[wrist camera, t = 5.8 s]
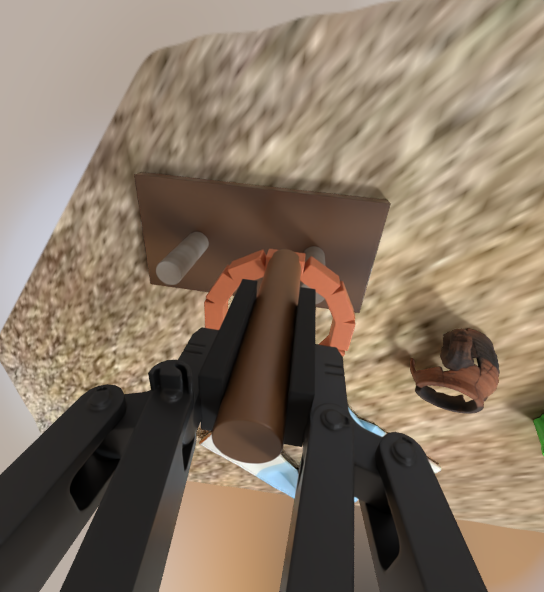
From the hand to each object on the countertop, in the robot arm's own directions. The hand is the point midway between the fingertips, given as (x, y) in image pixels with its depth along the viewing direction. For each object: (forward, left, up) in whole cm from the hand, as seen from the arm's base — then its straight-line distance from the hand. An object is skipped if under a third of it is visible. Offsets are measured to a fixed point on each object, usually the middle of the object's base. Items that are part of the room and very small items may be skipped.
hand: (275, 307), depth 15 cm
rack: (+5, -4, -19) cm, 20 cm away
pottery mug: (+16, +21, -20) cm, 33 cm away
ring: (+5, 0, -6) cm, 8 cm away
